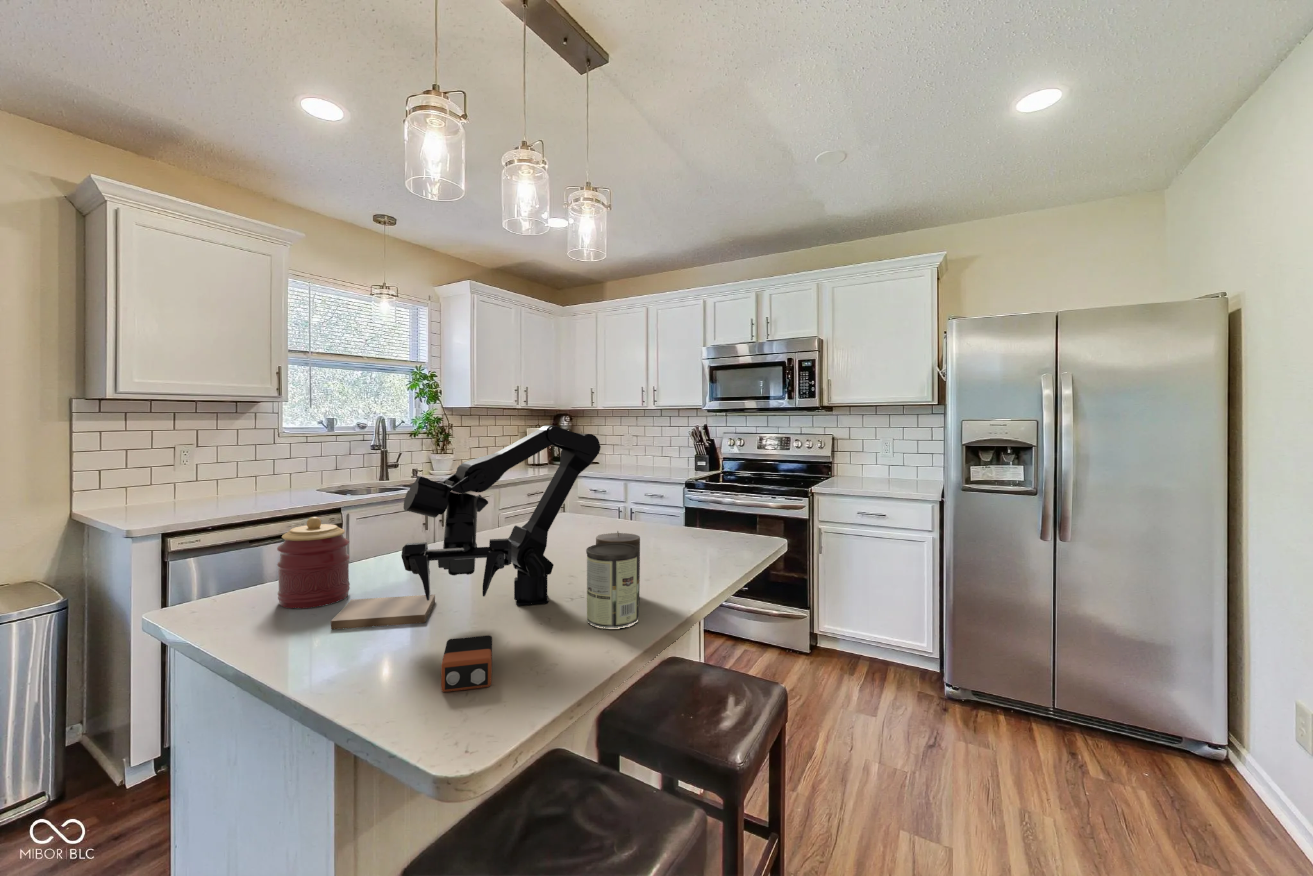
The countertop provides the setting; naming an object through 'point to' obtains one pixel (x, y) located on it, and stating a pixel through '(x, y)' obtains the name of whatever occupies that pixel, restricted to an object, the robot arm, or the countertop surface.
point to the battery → (467, 663)
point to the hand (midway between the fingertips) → (456, 597)
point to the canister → (313, 565)
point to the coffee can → (612, 584)
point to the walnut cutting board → (383, 612)
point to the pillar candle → (620, 541)
